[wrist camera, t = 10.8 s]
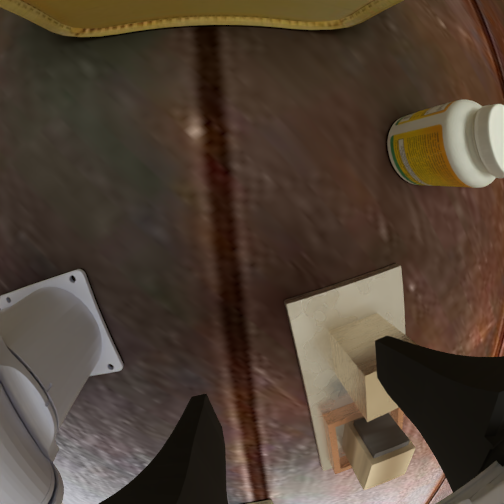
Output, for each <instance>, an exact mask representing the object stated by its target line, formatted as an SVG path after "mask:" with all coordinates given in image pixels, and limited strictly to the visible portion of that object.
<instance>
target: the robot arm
mask: <svg viewBox="0 0 504 504" xmlns="http://www.w3.org/2000/svg"><path fill="white" fill-rule="evenodd" d="M72 275H73V276H74V277H75V278H76V281H73V279H72ZM9 298H10V299H11V301H10V300H9ZM0 309H1V310H0V504H61V503H62V500H63V494H64V486H63V481H62V478H61V475H60V473H59V471H58V470H57V468H56V467H55V465H54V464H53V461H54V459H55V457H56V455H57V453H58V450H59V448H58V446H57V444H56V441H55V437H56V434H57V432H58V430H59V428H60V427H61V425H62V423H63V421H64V419H65V417H66V416H67V414H68V412H69V410H70V408H71V407H72V405H73V403H74V401H75V400H76V398H77V396H78V394H79V393H80V391H81V389H82V388H83V386H84V384H85V382H86V381H87V379H88V377H89V376H93V375H100V374H106V373H112V372H117V371H121V370H122V368H123V365H124V364H123V362H122V360H121V357H120V355H119V353H118V351H117V349H116V347H115V345H114V343H113V340H112V338H111V336H110V334H109V332H108V329H107V327H106V325H105V322H104V320H103V318H102V315H101V313H100V310H99V308H98V305H97V303H96V300H95V298H94V295H93V292H92V290H91V287H90V284H89V282H88V279H87V276H86V274H85V272H84V271H83V270H82V269H77V270H73V271H70V272H67V273H64V274H61V275H58V276H55V277H52V278H49V279H46V280H44V281H41V282H38V283H35V284H32V285H29V286H26V287H23V288H20V289H18V290H15V291H12V292H9V293H6V294H3V295H1V296H0ZM375 350H376V366H377V378H378V380H379V381H380V383H381V385H382V386H383V388H384V389H385V391H386V392H387V394H388V395H389V396H390V397H391V399H392V400H393V401H394V402H395V403H396V404H397V406H398V407H399V408H400V409H401V410H402V411H403V412H404V414H405V415H406V416H407V417H408V418H409V419H410V421H411V422H412V423H413V424H414V425H415V426H416V428H417V429H418V430H419V432H420V433H421V435H422V436H423V438H424V439H425V441H426V442H427V444H428V445H429V447H430V449H431V450H432V452H433V454H434V456H435V457H436V459H437V461H438V463H439V464H440V466H441V468H442V470H443V472H444V474H445V476H446V478H447V480H448V482H449V484H450V487H451V489H452V491H453V493H452V494H451V495H449V496H448V497H446V498H444V499H443V500H441V501H440V502H438V503H436V504H504V356H502V357H471V356H462V355H455V354H449V353H445V352H440V351H436V350H432V349H429V348H425V347H422V346H419V345H415V344H412V343H409V342H406V341H403V340H400V339H397V338H394V337H391V336H385V337H382V338H380V339H378V340H375ZM109 364H111V365H113V366H114V367H111V366H110V365H109ZM99 504H228V501H227V492H226V460H225V443H224V437H223V431H222V426H221V424H220V422H219V420H218V418H217V416H216V414H215V412H214V410H213V407H212V405H211V403H210V401H209V399H208V396H207V394H203V395H198V396H193V397H192V398H191V399H190V401H189V403H188V405H187V407H186V409H185V411H184V413H183V414H182V416H181V418H180V420H179V422H178V424H177V425H176V427H175V429H174V431H173V432H172V434H171V435H170V437H169V438H168V440H167V441H166V443H165V444H164V446H163V447H162V449H161V450H160V452H159V453H158V454H157V455H156V457H155V458H154V459H153V460H152V461H151V462H150V464H149V465H148V466H147V467H146V468H145V469H144V470H143V471H142V472H141V473H140V474H139V475H138V476H137V477H135V478H134V479H133V480H132V481H131V482H130V483H129V484H127V485H126V486H125V487H123V488H122V489H121V490H119V491H118V492H117V493H115V494H114V495H112V496H111V497H109V498H107V499H106V500H104V501H102V502H101V503H99Z"/></svg>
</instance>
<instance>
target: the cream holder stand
mask: <svg viewBox="0 0 504 504" xmlns="http://www.w3.org/2000/svg"><path fill="white" fill-rule="evenodd" d="M284 304H285V308H286V312H287V316H288V320H289V325H290V329H291V333H292V337H293V342H294V346H295V350H296V355H297V359H298V363H299V368H300V372H301V377H302V381H303V385H304V390H305V394H306V399H307V403H308V408H309V412H310V417H311V422H312V426H313V431H314V435H315V440H316V445H317V450H318V454H319V459H320V464H321V467H322V470H323V471H325V470H328V469H331V468H333V470H334V473H335V474H337V473H340V472H342V471H345V470H348V469H350V468H352V466H351V465H350V463H349V461H348V459H347V457H346V455H345V453H344V451H343V449H342V447H341V446H342V439H343V432H344V424H345V423H348V422H350V421H353V420H355V419H357V418H360V417H362V416H364V418H365V419H366V421H367V422H369V421H371V420H373V419H375V418H378V417H380V416H382V415H384V414H386V413H389V414H390V415H391V416H392V418H393V419H394V420H395V422H396V423H397V424H398V425H399V427H400V428H401V429H402V426H403V415H404V412H403V411H402V410H401V409H400V408H399V407H398V406H397V404H396V403H395V402H394V401H393V400H392V399H391V397H390V396H389V395H388V394H387V392H386V391H385V389H384V388H383V386H382V385H381V383H380V381H379V380H378V378H377V366H376V350H375V340H378V339H380V338H382V337H385V336H391V337H394V338H397V339H400V340H403V341H406V342H409V343H412V344H415V345H417V344H416V343H415V342H414V341H412V340H411V339H410V338H408V337H407V336H406V335H405V313H404V296H403V283H402V271H401V266H400V265H398V264H396V263H395V264H392V265H389V266H387V267H384V268H381V269H378V270H375V271H372V272H370V273H367V274H364V275H361V276H358V277H355V278H352V279H349V280H346V281H343V282H340V283H337V284H334V285H331V286H328V287H325V288H322V289H319V290H315V291H312V292H309V293H306V294H303V295H299V296H296V297H293V298H290V299H286V300H284Z"/></svg>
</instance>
